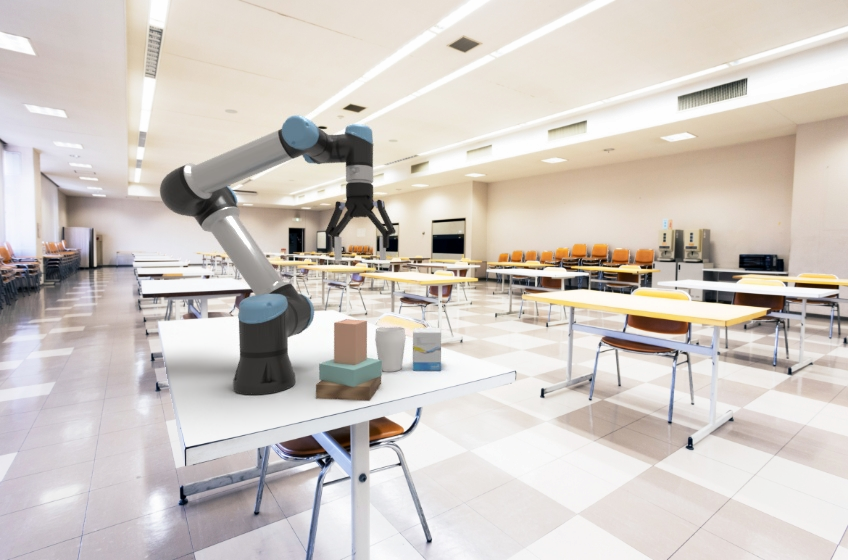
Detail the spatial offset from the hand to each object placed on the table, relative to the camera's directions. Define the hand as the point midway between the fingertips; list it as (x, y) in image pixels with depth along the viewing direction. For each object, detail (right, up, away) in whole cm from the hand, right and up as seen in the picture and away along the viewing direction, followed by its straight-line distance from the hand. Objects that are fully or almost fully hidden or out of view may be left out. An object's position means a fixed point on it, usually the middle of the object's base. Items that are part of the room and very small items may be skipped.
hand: (360, 260), depth 115 cm
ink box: (+19, -33, +10) cm, 39 cm away
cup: (+8, -33, +8) cm, 34 cm away
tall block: (-1, -26, -11) cm, 28 cm away
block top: (0, -30, -12) cm, 32 cm away
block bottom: (-1, -34, -12) cm, 36 cm away
